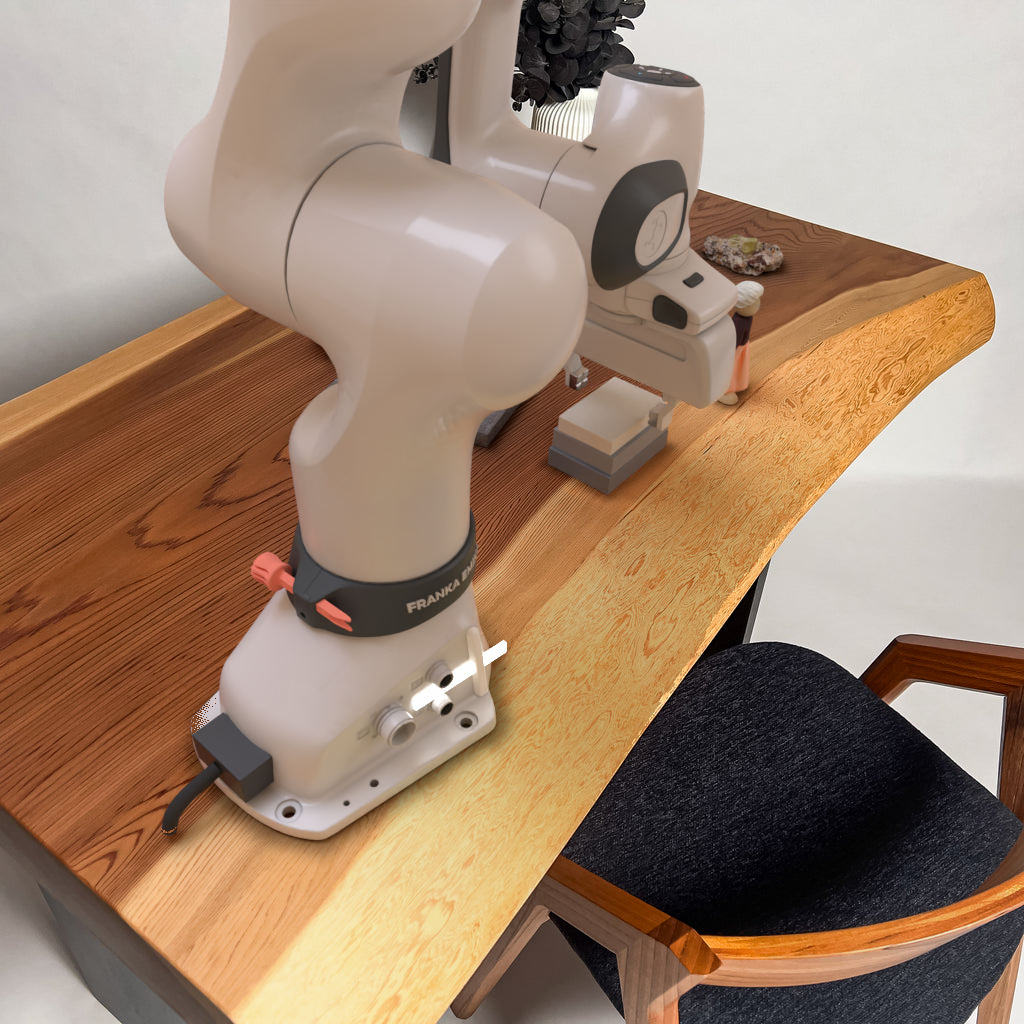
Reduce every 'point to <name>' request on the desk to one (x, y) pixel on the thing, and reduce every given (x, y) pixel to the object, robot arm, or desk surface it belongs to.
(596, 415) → the white flat block
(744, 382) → the grandmother figurine
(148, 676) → the desk surface
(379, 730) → the robot arm
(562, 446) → the grey stack
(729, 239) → the mineral rock
